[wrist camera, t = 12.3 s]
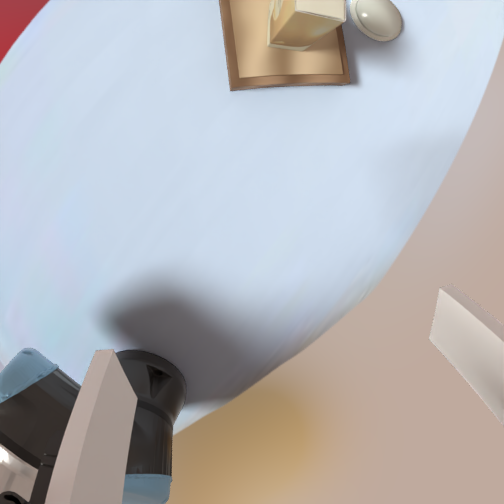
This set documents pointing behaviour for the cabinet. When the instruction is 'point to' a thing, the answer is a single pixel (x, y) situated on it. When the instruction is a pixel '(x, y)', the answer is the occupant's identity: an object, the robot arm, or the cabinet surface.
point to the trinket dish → (376, 18)
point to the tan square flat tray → (276, 52)
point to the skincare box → (302, 22)
